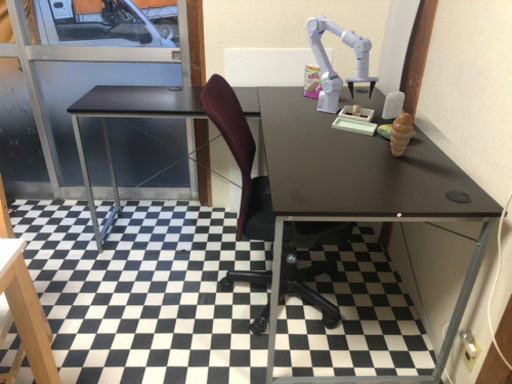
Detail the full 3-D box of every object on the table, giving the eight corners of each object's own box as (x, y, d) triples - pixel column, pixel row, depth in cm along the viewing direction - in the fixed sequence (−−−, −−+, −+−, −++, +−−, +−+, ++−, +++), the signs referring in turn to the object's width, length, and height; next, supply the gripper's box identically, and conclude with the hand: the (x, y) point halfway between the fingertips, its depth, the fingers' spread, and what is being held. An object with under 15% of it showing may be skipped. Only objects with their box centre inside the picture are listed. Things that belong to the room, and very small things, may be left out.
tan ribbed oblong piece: (382, 151, 162) (391, 107, 153) (401, 151, 162) (412, 107, 153) (390, 161, 154) (400, 115, 145) (410, 161, 155) (421, 116, 146)
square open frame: (337, 120, 190) (338, 114, 188) (344, 111, 201) (345, 105, 199) (367, 125, 185) (368, 119, 183) (373, 116, 196) (374, 110, 195)
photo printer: (394, 114, 200) (400, 89, 194) (401, 116, 197) (407, 91, 191) (380, 117, 195) (385, 92, 189) (387, 120, 192) (392, 94, 186)
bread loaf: (351, 118, 192) (353, 106, 189) (352, 116, 195) (354, 104, 192) (358, 120, 191) (360, 107, 188) (360, 117, 194) (362, 105, 191)
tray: (331, 128, 181) (331, 124, 180) (336, 121, 189) (337, 117, 188) (372, 135, 175) (373, 132, 174) (376, 128, 183) (377, 124, 182)
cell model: (376, 125, 180) (412, 117, 174) (380, 142, 181) (416, 134, 176) (376, 129, 170) (414, 120, 164) (379, 147, 171) (417, 139, 166)
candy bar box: (302, 96, 219) (305, 65, 211) (306, 94, 223) (309, 63, 214) (321, 100, 214) (325, 68, 206) (325, 98, 218) (329, 66, 209)
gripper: (344, 70, 181) (344, 100, 186) (378, 68, 176) (377, 100, 182) (346, 67, 187) (345, 97, 192) (379, 66, 183) (377, 96, 188)
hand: (361, 98), depth 188 cm, fingers open, 7 cm apart
